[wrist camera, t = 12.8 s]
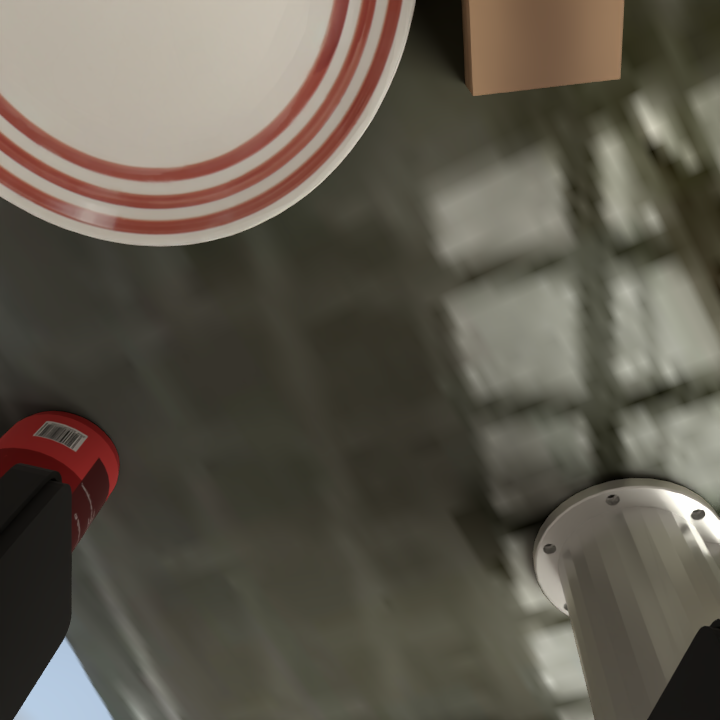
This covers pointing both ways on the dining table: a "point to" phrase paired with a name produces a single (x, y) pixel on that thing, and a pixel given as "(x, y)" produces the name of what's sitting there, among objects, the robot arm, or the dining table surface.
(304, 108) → the dinner plate
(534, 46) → the walnut cube
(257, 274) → the dining table surface
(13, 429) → the canned food
